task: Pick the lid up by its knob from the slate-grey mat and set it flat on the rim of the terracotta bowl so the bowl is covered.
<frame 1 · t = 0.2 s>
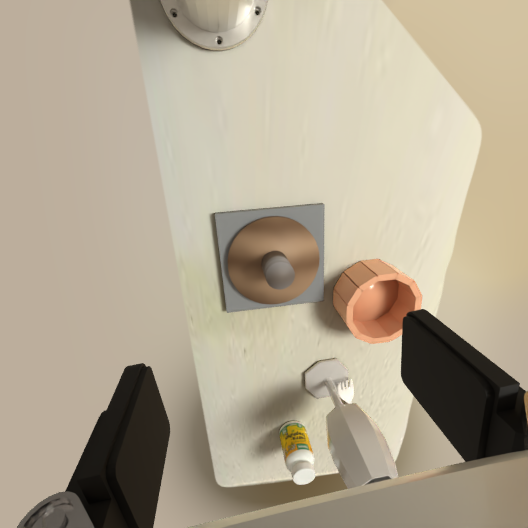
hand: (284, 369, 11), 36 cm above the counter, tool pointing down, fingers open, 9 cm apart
wineglass: (325, 376, 59), on the counter, touching fork
lid: (273, 260, 48), point 1 cm above the counter, touching mat
fork: (349, 408, 62), on the counter, touching wineglass
bowl: (367, 292, 53), on the counter
mat: (272, 258, 49), on the counter
supplement bottle: (291, 428, 62), on the counter
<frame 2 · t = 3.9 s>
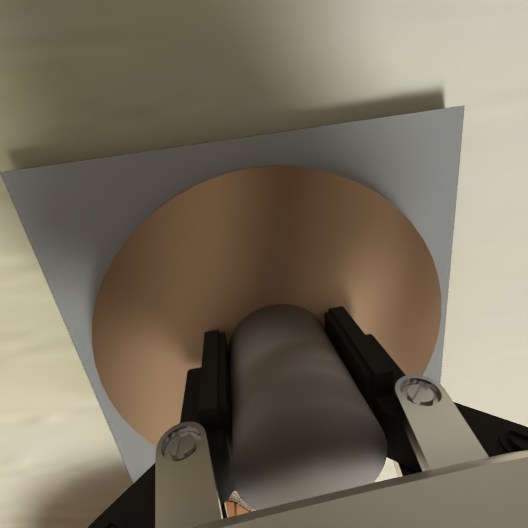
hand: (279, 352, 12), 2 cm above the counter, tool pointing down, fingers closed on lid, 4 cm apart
lid: (274, 334, 13), point 1 cm above the counter, touching gripper, mat
mat: (270, 322, 14), on the counter
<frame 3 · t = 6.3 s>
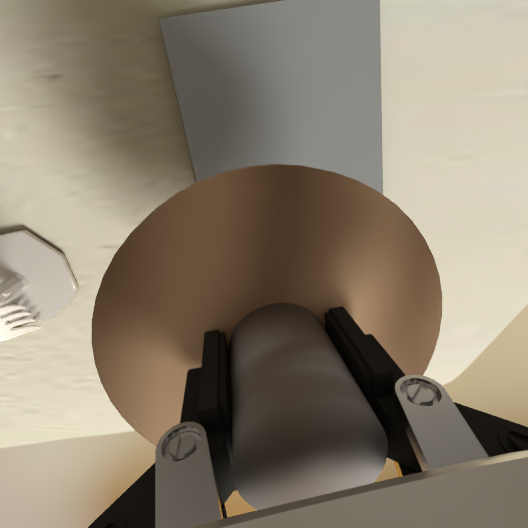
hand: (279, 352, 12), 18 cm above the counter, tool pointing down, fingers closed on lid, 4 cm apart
wineglass: (27, 276, 28), on the counter, touching fork
lid: (274, 333, 13), point 16 cm above the counter, touching gripper
mat: (283, 124, 26), on the counter
when the fingers open (9 cm above the counter, at t = 9.1 s): lid drops 1 cm, resting on bowl.
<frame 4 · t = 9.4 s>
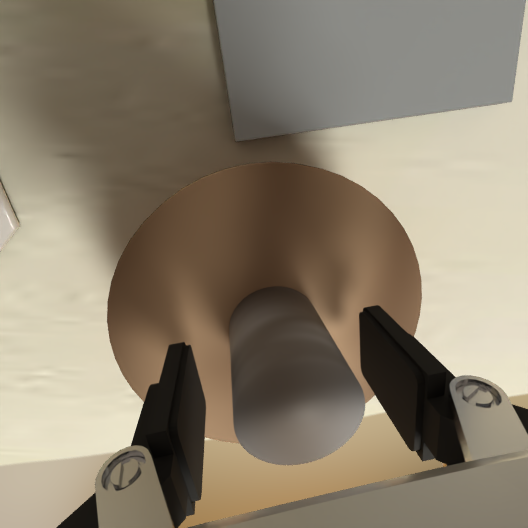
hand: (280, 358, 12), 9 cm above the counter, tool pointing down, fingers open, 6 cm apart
lid: (270, 315, 15), point 6 cm above the counter, touching bowl
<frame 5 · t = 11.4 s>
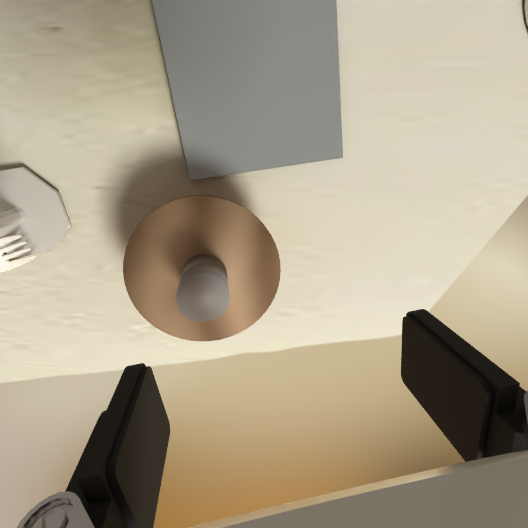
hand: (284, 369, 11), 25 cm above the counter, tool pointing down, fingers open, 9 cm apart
wineglass: (23, 212, 31), on the counter, touching fork
lid: (205, 270, 29), point 6 cm above the counter, touching bowl
mat: (255, 82, 30), on the counter
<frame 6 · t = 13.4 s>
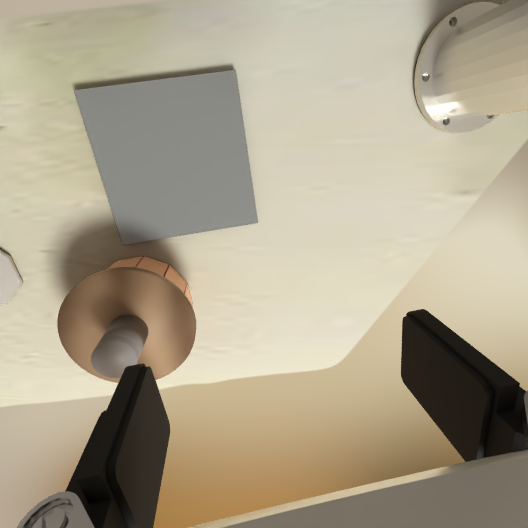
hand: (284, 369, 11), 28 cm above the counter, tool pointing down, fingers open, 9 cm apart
lid: (131, 326, 34), point 6 cm above the counter, touching bowl
bowl: (143, 301, 40), on the counter
mat: (176, 163, 35), on the counter
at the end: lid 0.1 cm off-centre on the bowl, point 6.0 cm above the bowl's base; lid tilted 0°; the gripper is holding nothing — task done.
